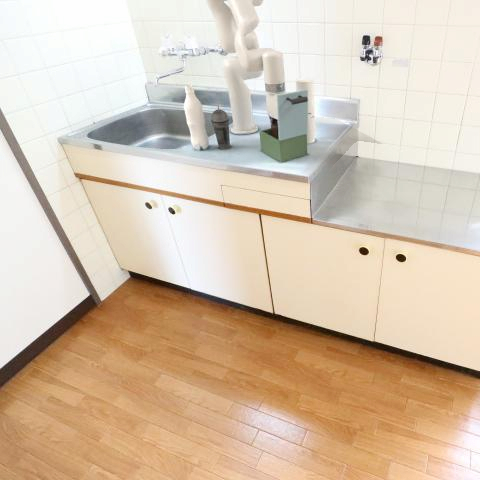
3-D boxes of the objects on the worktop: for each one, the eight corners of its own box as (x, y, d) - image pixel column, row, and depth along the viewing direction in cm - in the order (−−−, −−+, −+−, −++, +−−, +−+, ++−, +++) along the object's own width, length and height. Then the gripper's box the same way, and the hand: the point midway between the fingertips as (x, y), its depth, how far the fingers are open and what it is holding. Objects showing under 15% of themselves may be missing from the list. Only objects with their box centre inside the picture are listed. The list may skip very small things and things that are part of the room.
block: (271, 135, 151) (270, 124, 149) (281, 133, 153) (280, 122, 151) (277, 138, 148) (276, 127, 146) (286, 135, 150) (286, 124, 148)
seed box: (261, 150, 155) (259, 130, 150) (286, 143, 161) (285, 124, 156) (281, 162, 144) (279, 141, 140) (307, 154, 150) (306, 134, 146)
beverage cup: (231, 143, 162) (224, 95, 151) (234, 148, 157) (227, 99, 145) (214, 145, 160) (206, 97, 149) (217, 151, 155) (208, 101, 143)
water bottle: (207, 150, 155) (195, 87, 141) (190, 151, 156) (176, 88, 141) (211, 144, 161) (200, 83, 147) (195, 144, 161) (182, 83, 147)
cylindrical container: (296, 139, 165) (292, 79, 150) (310, 136, 167) (308, 77, 153) (303, 144, 160) (300, 82, 145) (317, 141, 162) (316, 80, 148)
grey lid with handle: (276, 95, 129) (285, 99, 126) (306, 89, 135) (315, 93, 132) (278, 140, 140) (286, 145, 136) (306, 132, 146) (314, 137, 142)
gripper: (296, 90, 137) (298, 138, 147) (272, 82, 148) (276, 128, 158) (278, 93, 133) (282, 142, 143) (255, 85, 144) (260, 131, 155)
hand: (279, 134), depth 151 cm, fingers closed on block, 4 cm apart
